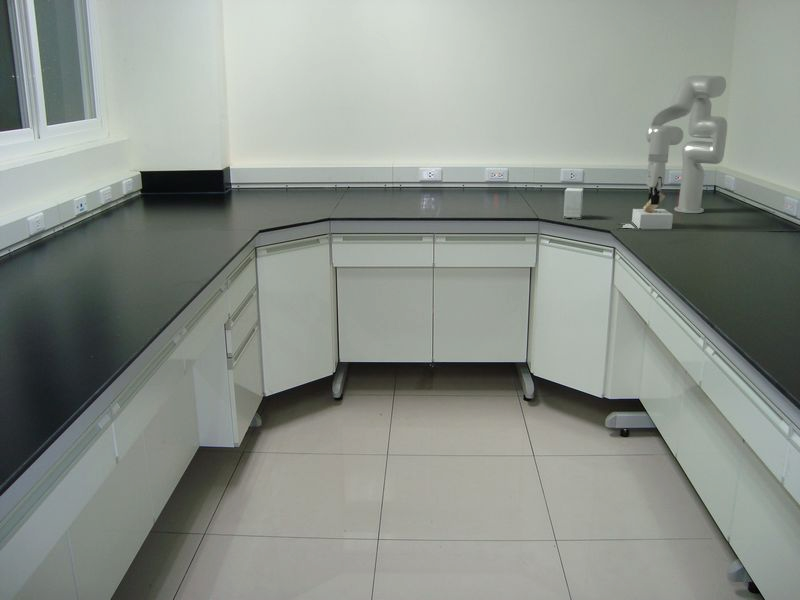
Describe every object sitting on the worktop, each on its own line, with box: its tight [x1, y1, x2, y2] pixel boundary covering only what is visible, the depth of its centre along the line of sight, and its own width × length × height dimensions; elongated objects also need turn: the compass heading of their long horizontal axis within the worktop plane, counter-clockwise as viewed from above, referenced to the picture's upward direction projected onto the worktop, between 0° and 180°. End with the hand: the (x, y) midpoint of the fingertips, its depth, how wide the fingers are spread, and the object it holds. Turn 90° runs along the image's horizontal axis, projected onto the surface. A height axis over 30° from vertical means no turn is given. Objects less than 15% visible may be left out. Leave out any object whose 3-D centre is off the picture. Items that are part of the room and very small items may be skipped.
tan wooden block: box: [642, 189, 668, 213], centre depth 303 cm, size 3×3×10 cm
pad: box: [622, 223, 636, 230], centre depth 304 cm, size 8×8×1 cm
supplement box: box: [563, 187, 584, 218], centre depth 322 cm, size 7×7×13 cm
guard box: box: [631, 208, 674, 230], centre depth 305 cm, size 12×13×6 cm
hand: (653, 203), depth 303 cm, fingers closed on tan wooden block, 3 cm apart
